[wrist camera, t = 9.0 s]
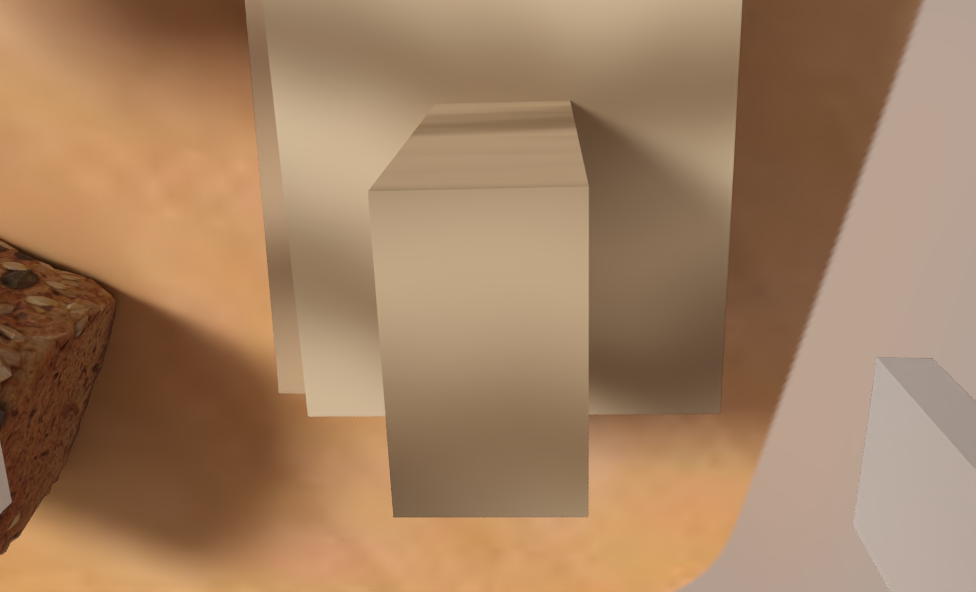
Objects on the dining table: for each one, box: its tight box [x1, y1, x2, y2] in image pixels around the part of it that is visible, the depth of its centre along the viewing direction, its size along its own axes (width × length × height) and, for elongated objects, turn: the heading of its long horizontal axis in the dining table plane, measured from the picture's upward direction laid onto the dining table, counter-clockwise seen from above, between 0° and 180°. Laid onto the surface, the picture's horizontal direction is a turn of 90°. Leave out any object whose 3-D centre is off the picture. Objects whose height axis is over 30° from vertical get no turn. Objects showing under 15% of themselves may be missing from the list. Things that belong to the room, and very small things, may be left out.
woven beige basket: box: [245, 0, 305, 394], centre depth 26 cm, size 20×22×14 cm
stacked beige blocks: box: [262, 0, 742, 517], centre depth 20 cm, size 20×12×11 cm, turn 2°
